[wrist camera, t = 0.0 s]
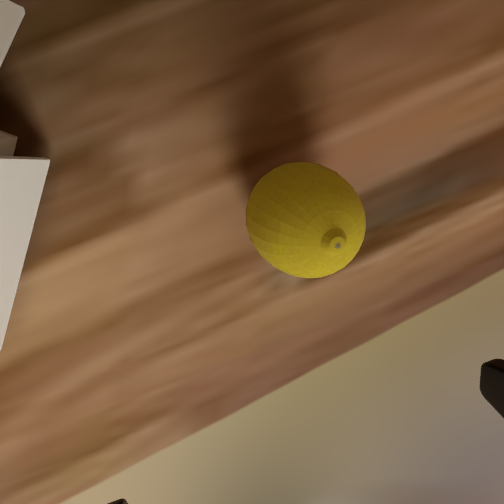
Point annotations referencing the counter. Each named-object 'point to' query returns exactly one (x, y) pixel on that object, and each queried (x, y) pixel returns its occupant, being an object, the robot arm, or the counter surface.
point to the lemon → (305, 219)
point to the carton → (15, 188)
